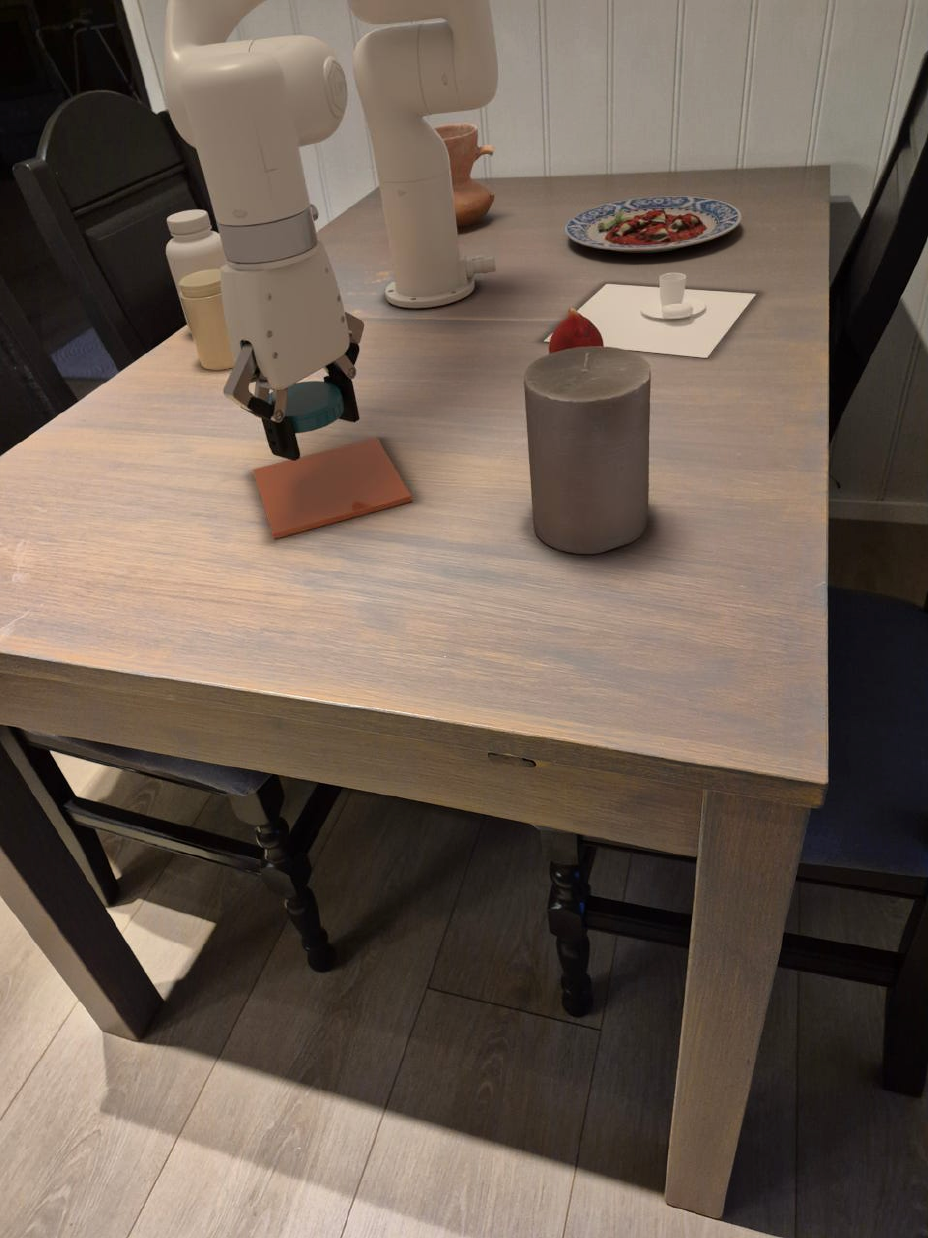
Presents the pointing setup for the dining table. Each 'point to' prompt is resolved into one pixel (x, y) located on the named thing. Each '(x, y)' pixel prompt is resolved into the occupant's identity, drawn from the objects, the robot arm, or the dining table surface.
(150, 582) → the dining table surface
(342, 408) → the lid
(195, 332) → the jar
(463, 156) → the ceramic jug
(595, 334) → the onion
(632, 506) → the pillar candle
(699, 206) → the ceramic plate
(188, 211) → the pill bottle
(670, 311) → the teacup and saucer
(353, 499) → the tile
